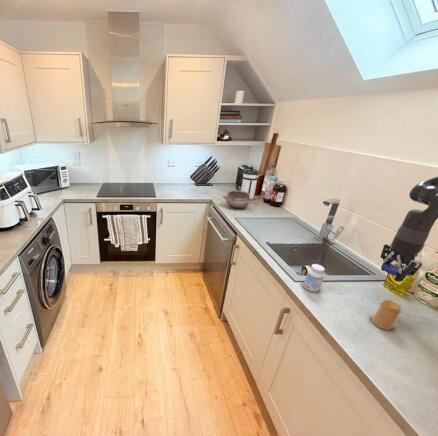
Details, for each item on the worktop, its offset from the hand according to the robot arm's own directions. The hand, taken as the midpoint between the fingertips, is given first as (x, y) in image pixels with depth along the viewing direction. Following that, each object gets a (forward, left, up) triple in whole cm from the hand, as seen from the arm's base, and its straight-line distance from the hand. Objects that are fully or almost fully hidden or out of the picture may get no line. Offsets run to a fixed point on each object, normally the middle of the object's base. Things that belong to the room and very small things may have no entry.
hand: (390, 275), depth 92 cm
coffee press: (+22, -131, -14) cm, 133 cm away
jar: (+7, +12, -13) cm, 20 cm away
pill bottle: (+23, -6, -14) cm, 27 cm away
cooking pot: (+34, -107, -14) cm, 113 cm away
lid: (0, 0, +3) cm, 3 cm away
